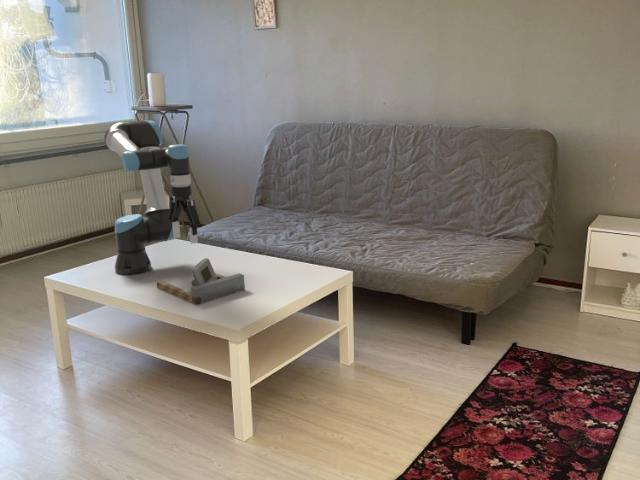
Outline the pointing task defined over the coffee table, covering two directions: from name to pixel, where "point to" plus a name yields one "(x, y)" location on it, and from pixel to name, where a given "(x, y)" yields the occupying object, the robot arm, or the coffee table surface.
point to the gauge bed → (181, 291)
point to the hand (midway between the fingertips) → (185, 240)
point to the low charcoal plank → (218, 288)
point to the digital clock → (203, 273)
